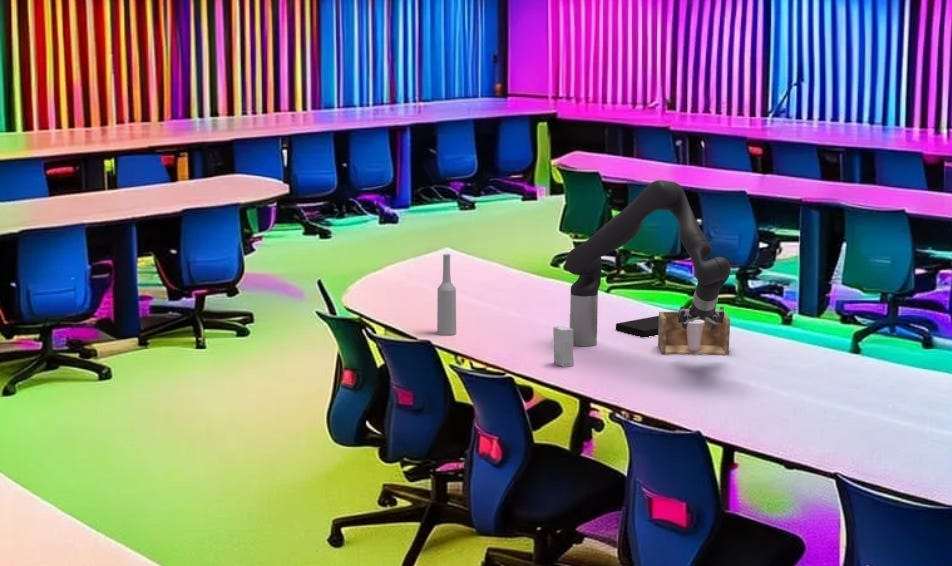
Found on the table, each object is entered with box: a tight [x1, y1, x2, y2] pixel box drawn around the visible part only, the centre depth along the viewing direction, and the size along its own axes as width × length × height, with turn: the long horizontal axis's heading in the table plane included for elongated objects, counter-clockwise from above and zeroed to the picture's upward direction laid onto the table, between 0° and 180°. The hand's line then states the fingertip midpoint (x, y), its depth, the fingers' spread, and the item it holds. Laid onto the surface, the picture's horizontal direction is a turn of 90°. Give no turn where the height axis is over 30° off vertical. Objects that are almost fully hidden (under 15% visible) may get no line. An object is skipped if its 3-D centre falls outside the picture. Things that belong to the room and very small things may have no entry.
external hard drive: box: [615, 315, 659, 338], centre depth 474 cm, size 14×23×3 cm, turn 127°
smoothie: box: [686, 320, 705, 351], centre depth 442 cm, size 6×6×14 cm
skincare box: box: [553, 325, 574, 368], centre depth 426 cm, size 6×4×12 cm
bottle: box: [436, 253, 457, 337], centre depth 465 cm, size 7×7×28 cm
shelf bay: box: [657, 311, 731, 356], centre depth 444 cm, size 22×11×12 cm, turn 89°
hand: (698, 327), depth 430 cm, fingers open, 8 cm apart
